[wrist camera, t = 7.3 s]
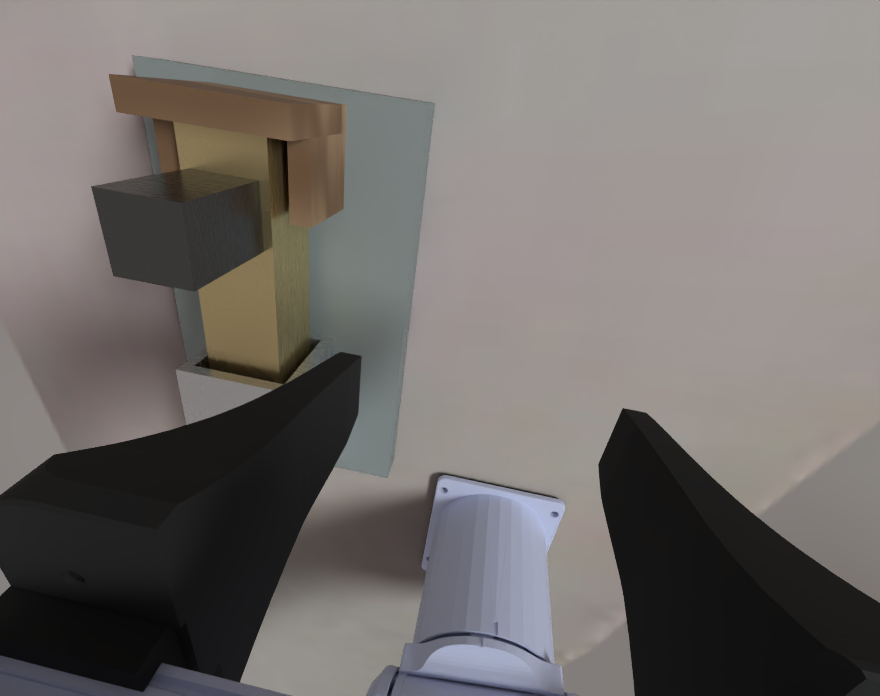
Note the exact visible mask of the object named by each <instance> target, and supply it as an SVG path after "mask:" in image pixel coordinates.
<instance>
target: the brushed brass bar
mask: <svg viewBox="0 0 880 696" xmlns="http://www.w3.org/2000/svg"><path fill="white" fill-rule="evenodd" d="M173 123H174V130H175V137H176V143H177V150H178V157H179V164H180V170H177V171H172V172H166V173H161V174H156V175H150V176H145V177H140V178H134V179H129V180H123V181H118V182H113V183H107V184H102V185H97V186H91V187H92V191H93V195H94V199H95V203H96V207H97V211H98V215H99V219H100V224H101V228H102V232H103V236H104V240H105V244H106V248H107V252H108V256H109V260H110V264H111V268H112V272H113V276H117V277H122V278H127V279H132V280H137V281H142V282H147V283H152V284H158V285H163V286H168V287H173V288H178V289H183V290H188V291H193V292H195V291H197V290H198V292H199V299H200V305H201V312H202V319H203V326H204V332H205V339H206V346H207V353H208V359H209V366H210V369H212V370H217V371H222V372H227V373H232V374H236V375H241V376H246V377H251V378H256V379H261V380H265V381H270V382H275V383H280V384H285V383H286V382H287V381H288V379H289V378H290V377H291V376H292V375H293V373H294V372H295V371H296V370H297V369H298V367H299V366H300V365H301V364H302V363H303V361H304V360H305V359H306V358H307V357H308V355H309V354H310V298H309V228H306V227H301V226H295V225H290V213H289V183H288V153H287V141H285V140H279V139H273V138H267V137H261V136H255V135H249V134H244V133H238V132H232V131H226V130H220V129H214V128H208V127H202V126H197V125H191V124H185V123H179V122H173Z"/></svg>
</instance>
